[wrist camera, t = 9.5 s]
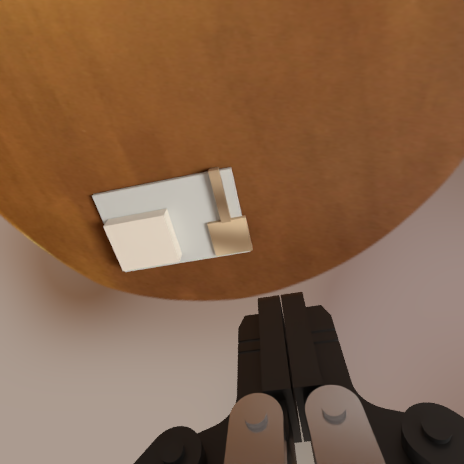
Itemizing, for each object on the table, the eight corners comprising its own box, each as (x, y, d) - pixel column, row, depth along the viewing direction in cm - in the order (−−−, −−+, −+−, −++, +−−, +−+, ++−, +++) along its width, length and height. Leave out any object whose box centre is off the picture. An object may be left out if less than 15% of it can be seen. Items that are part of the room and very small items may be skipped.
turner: (193, 171, 43) (192, 174, 42) (234, 163, 42) (233, 166, 41) (216, 253, 48) (216, 257, 47) (252, 247, 48) (252, 251, 47)
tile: (167, 207, 45) (108, 218, 46) (163, 215, 43) (103, 226, 44) (182, 253, 48) (127, 262, 49) (179, 261, 47) (122, 271, 48)
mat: (93, 194, 45) (91, 195, 45) (231, 166, 43) (230, 168, 42) (126, 269, 51) (125, 271, 50) (249, 249, 48) (249, 251, 48)
